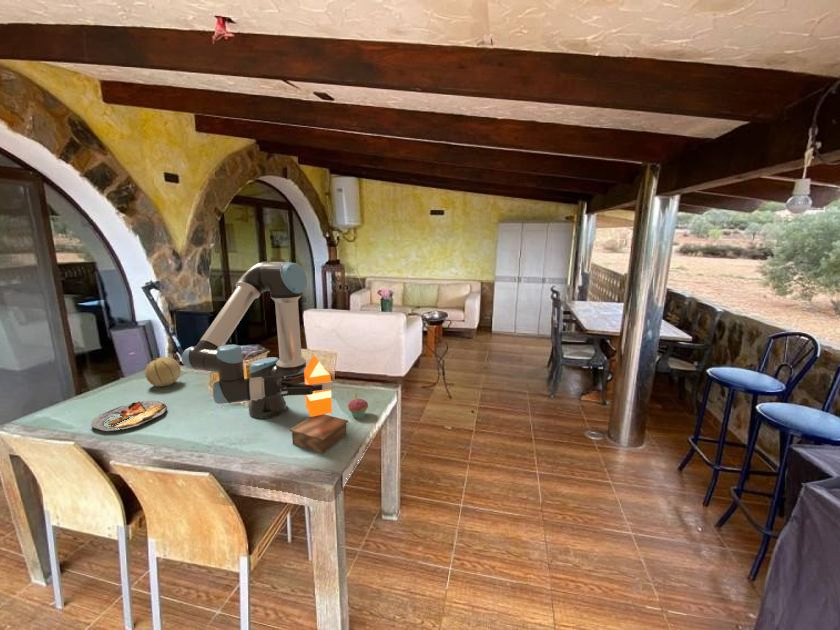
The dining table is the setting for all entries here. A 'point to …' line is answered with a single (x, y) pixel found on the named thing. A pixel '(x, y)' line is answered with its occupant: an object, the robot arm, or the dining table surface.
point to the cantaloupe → (162, 371)
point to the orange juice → (319, 399)
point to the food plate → (137, 410)
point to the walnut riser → (319, 432)
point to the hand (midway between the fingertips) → (329, 380)
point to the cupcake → (357, 407)
